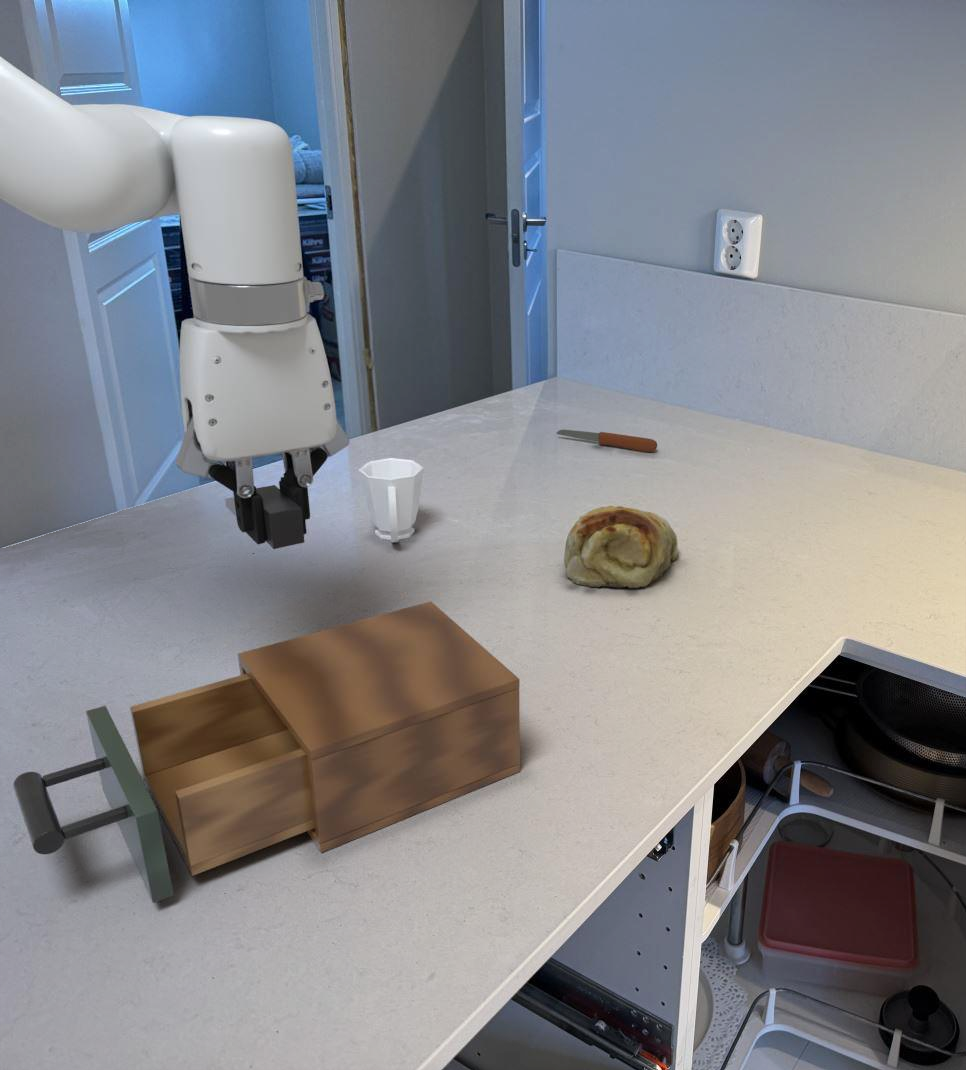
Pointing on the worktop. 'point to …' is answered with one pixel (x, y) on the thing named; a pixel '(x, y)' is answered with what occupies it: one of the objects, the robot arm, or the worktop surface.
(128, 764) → the drawer
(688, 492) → the worktop surface
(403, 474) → the cup
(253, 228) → the robot arm
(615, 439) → the kitchen knife
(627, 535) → the pastry
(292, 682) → the cabinet
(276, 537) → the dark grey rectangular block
